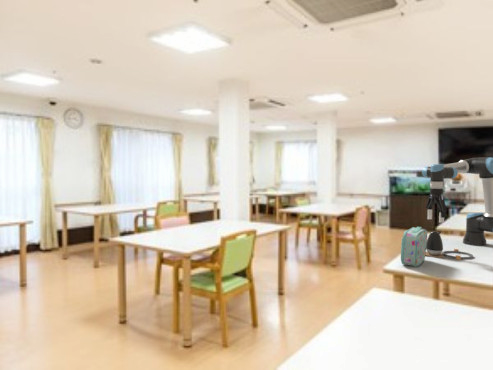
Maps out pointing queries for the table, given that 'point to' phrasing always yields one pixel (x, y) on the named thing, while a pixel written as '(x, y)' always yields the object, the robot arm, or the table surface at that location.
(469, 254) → the collar
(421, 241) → the lunch box
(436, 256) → the coaster
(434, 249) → the black rounded piece
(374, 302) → the table surface
